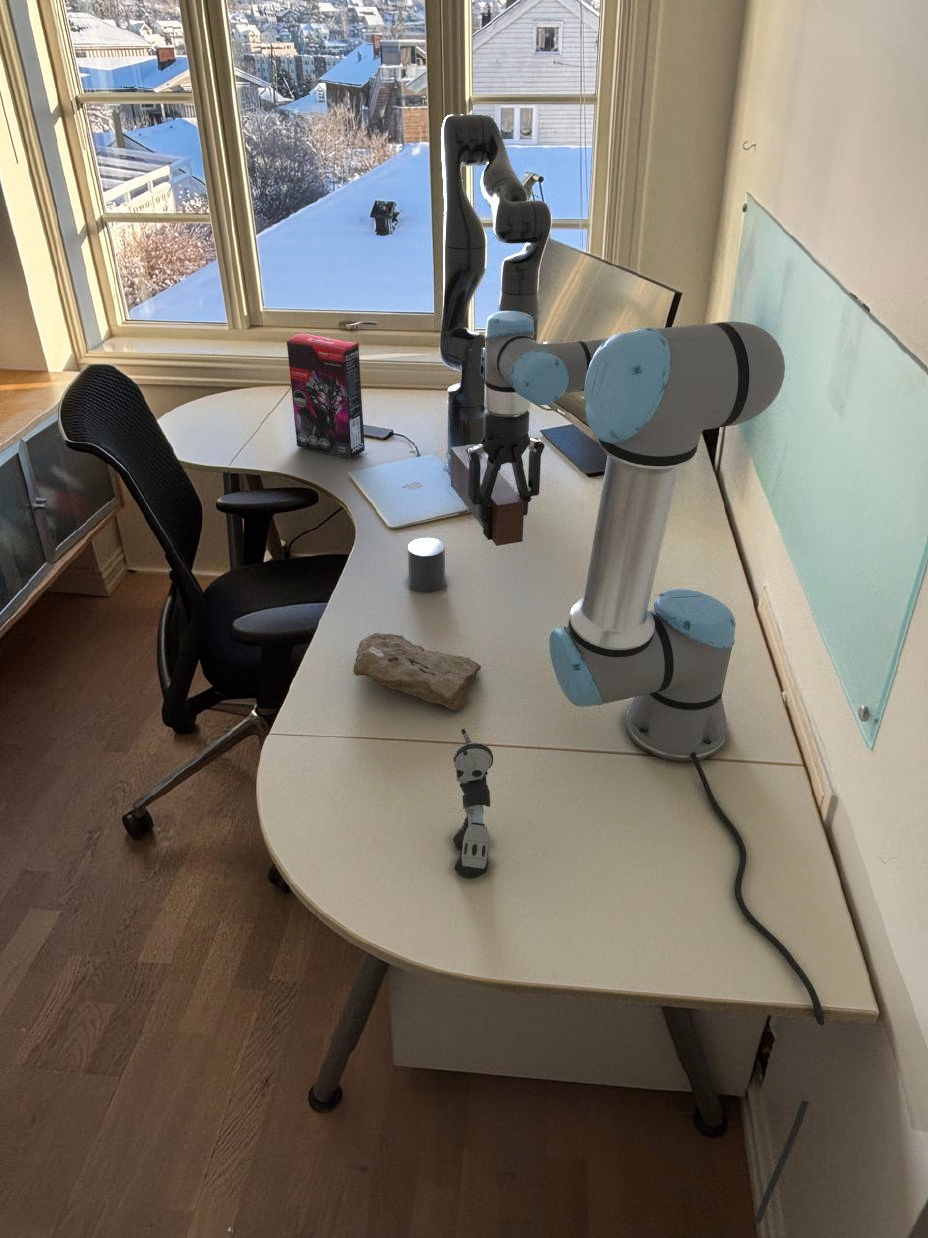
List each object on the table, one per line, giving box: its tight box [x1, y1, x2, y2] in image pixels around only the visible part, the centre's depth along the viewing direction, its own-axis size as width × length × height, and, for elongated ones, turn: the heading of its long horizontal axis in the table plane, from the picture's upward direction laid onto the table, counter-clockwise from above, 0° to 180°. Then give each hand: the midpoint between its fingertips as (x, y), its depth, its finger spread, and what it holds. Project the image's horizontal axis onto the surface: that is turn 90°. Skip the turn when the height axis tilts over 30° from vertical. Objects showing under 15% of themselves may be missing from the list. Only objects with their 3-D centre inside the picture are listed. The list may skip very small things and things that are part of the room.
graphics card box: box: [286, 332, 366, 459], centre depth 224 cm, size 17×7×27 cm, turn 62°
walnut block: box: [450, 444, 525, 547], centre depth 171 cm, size 26×5×8 cm, turn 19°
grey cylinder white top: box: [407, 537, 446, 593], centre depth 177 cm, size 7×7×8 cm
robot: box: [452, 728, 494, 879], centre depth 116 cm, size 20×5×20 cm, turn 3°
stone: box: [352, 632, 482, 712], centre depth 151 cm, size 21×15×6 cm
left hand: (514, 397), depth 184 cm, fingers open, 8 cm apart
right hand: (502, 533), depth 165 cm, fingers closed on walnut block, 5 cm apart
